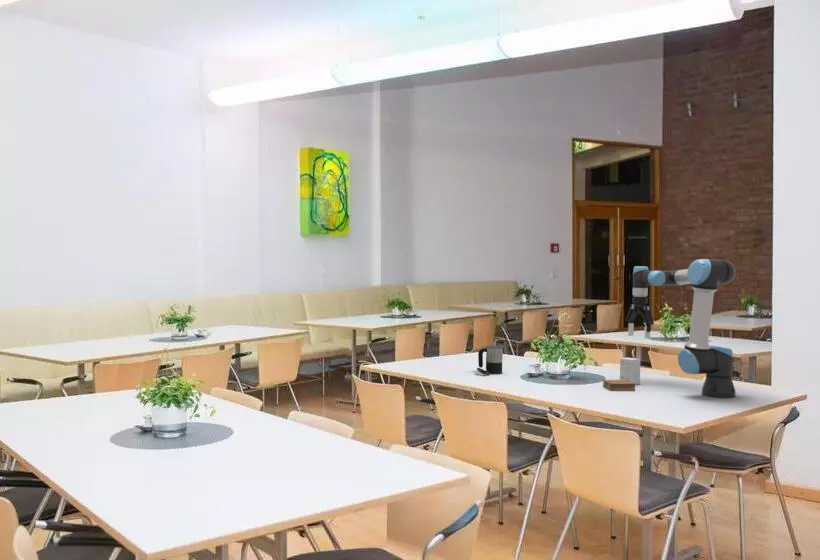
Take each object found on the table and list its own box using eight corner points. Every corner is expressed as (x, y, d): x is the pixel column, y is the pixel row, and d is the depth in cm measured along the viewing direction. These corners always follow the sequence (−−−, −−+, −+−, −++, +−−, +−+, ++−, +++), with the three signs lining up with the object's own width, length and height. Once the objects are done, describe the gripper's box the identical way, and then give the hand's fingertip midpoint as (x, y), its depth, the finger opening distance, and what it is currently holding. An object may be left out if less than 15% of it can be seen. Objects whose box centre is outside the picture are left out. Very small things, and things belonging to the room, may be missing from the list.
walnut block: (634, 391, 397) (635, 383, 397) (610, 391, 396) (610, 383, 396) (626, 387, 409) (626, 379, 409) (603, 387, 408) (603, 379, 408)
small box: (640, 384, 418) (640, 358, 418) (632, 385, 414) (633, 359, 414) (626, 382, 424) (627, 357, 424) (619, 383, 420) (619, 358, 420)
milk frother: (502, 372, 452) (503, 345, 452) (503, 376, 437) (503, 348, 436) (477, 371, 454) (477, 344, 453) (476, 375, 438) (477, 348, 438)
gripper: (661, 297, 414) (660, 339, 414) (631, 294, 437) (630, 334, 438) (649, 297, 411) (648, 339, 412) (619, 294, 434) (618, 334, 435)
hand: (638, 337), depth 425 cm, fingers open, 13 cm apart
